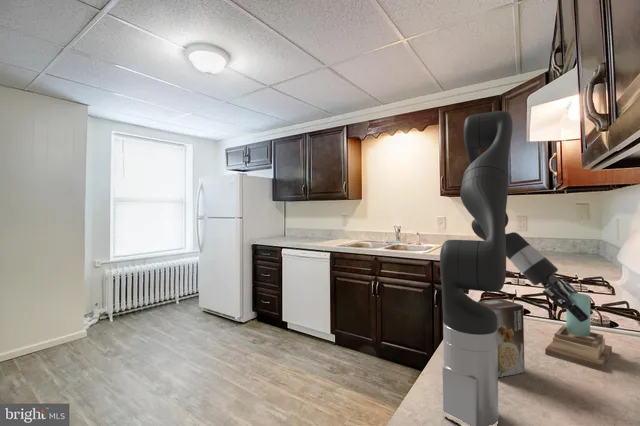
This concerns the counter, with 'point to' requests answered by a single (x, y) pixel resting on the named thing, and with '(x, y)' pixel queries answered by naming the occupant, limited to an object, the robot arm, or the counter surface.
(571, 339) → the base slab
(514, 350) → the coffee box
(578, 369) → the counter surface
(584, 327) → the teal post
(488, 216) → the robot arm
